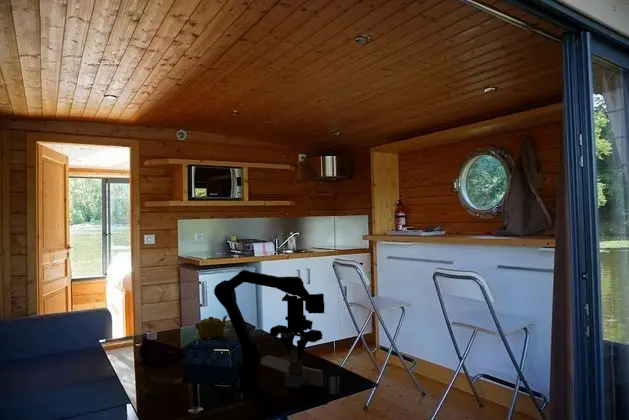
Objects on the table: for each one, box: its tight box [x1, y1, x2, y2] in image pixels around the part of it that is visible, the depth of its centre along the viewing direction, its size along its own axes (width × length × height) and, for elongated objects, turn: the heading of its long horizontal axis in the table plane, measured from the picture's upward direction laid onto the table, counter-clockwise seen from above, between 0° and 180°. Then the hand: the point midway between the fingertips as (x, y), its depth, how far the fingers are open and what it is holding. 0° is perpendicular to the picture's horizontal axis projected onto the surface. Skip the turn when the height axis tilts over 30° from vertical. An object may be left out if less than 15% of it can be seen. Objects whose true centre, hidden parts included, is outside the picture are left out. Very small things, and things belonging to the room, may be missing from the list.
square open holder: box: [284, 370, 308, 389], centre depth 159 cm, size 8×6×4 cm
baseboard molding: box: [259, 354, 326, 375], centre depth 181 cm, size 31×3×12 cm
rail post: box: [289, 347, 303, 374], centre depth 158 cm, size 3×3×8 cm
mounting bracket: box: [138, 337, 185, 365], centre depth 195 cm, size 9×8×18 cm
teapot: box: [194, 314, 229, 340], centre depth 228 cm, size 14×13×10 cm
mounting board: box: [288, 365, 324, 388], centre depth 163 cm, size 2×14×6 cm, turn 60°
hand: (295, 357), depth 158 cm, fingers closed on rail post, 3 cm apart
